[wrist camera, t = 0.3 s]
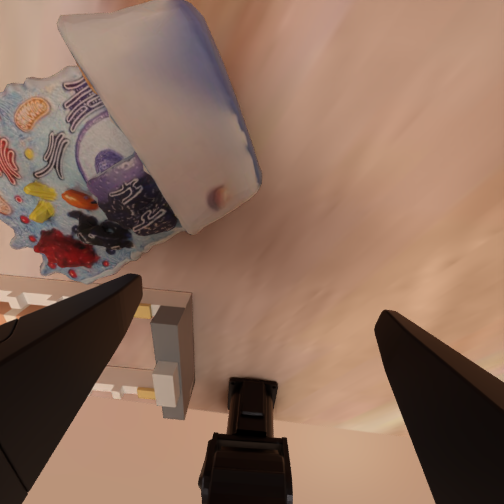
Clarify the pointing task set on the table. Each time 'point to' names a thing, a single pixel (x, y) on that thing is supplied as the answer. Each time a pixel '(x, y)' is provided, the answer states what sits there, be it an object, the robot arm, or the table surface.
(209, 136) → the cell model
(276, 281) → the table surface
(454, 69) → the table surface
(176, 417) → the comb channel
